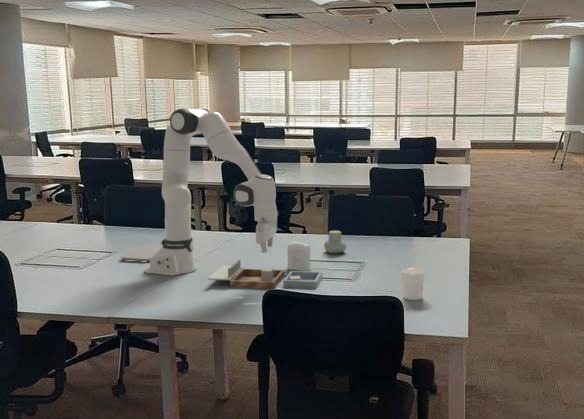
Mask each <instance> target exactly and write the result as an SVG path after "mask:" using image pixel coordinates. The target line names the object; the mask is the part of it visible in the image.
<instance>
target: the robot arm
mask: <svg viewBox="0 0 584 419" xmlns="http://www.w3.org/2000/svg"><path fill="white" fill-rule="evenodd" d="M201 135H203V137H204V139H205V141H206V143H207V146H208V147H209V149H210V151H211V152H212V154H213V155H214V156H215V157H216V158H218V159H220V160H223V161H229V162H231V163H234V164H236V165H237V166H238V167H239V168H240V169H241V171H242V172H243V174H244V175H245V177H246V178H247V181H244V182H241V183H239V184H237V185H235V186H234V190H233V199H234V202H235V203H236V204H237V205H239V206H240V207H249V206H250V207H251V206H253V210H254V221H255V222H257V224H256V227H255V242H256V244H259V245H260V248H261V253H262V254H263V253H265V254H266V253H267V252H268V248H272V247H273V240H274V236H275V235H276V234H277V230H278V216H279V211H278V210H277V208H278V207H277V205H276V204H277V203H276V198H277V191H276V190H277V189H276V183H275V179H274V178H273V176H271V175H269V174H263V173H262V171H261V170H260V169H259V167H258V165H257V164H256V162H255V161H254V159H253V158H252V156H251V155H250V153H249V152H248V150H247V149H246V148H244V146H243V145H241V143H240V141H238V139H237V138H236V137H235V135H234V133H233V131H232V129H231V127H230V125H229V124H228V123H227V121H226V119H225V118H224V117H223V115H222V114H221V113H220V112H217V111H210V110H209V109H206V108H199V107H187V108H185V107H184V108H179V109H176V110H174V111H173V112H172V113H171V115H170V117H169V125H168V126H167V127H166V129H165V134H164V140H163V170H162V181H161V182H162V183H161V197H162V199H163V200H164V230H165V232H164V234H165V237H164V239H162V240H161V241H160V245H162V248H161V249H160V250H158V251H157V252H156V253H155V254H154V255H153V256H152V257H151V259H150V262H149V265H148V266H146V267H145V268H144V273H145V272H146V274H153V273H154V275H164V276H177V275H182V274H188V273H192V272H194V271H196V270H197V269H198V267H197V264H196V261H195V257H194V251H193V250H194V241H193V237H192V226H191V225H192V224H191V221H192V220H191V219H192V214H191V213H192V193H191V191H190V189H189V188H188V187H189V186H188V182H189V176H190V165H191V164H190V163H191V161H190V160H191V140H192V138H193V136H196V137H197V136H198V137H199V136H201Z"/></svg>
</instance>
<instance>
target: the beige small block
mask: <svg viewBox="0 0 584 419" xmlns="http://www.w3.org/2000/svg"><path fill="white" fill-rule="evenodd" d="M261 269H262V270H261V281H266V282H273V280H274V278H273V270H274V268H271V267H270V268H268V267H267V268H266V267H263V268H261Z"/></svg>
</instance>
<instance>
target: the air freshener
mask: <svg viewBox="0 0 584 419" xmlns="http://www.w3.org/2000/svg"><path fill="white" fill-rule="evenodd" d="M323 245H324V246H323V247H324V250H325V251H326V252H327V253H329V254H341V253H342V252H345V251H346V249H347V244H346V241H344V240H342V232H341V231H340V230H329V231H328V240H326V241H325V242H324V243H323Z"/></svg>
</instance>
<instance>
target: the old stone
mask: <svg viewBox="0 0 584 419" xmlns="http://www.w3.org/2000/svg"><path fill="white" fill-rule="evenodd" d="M290 280H300V281H301V278H300V276H290Z"/></svg>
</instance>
